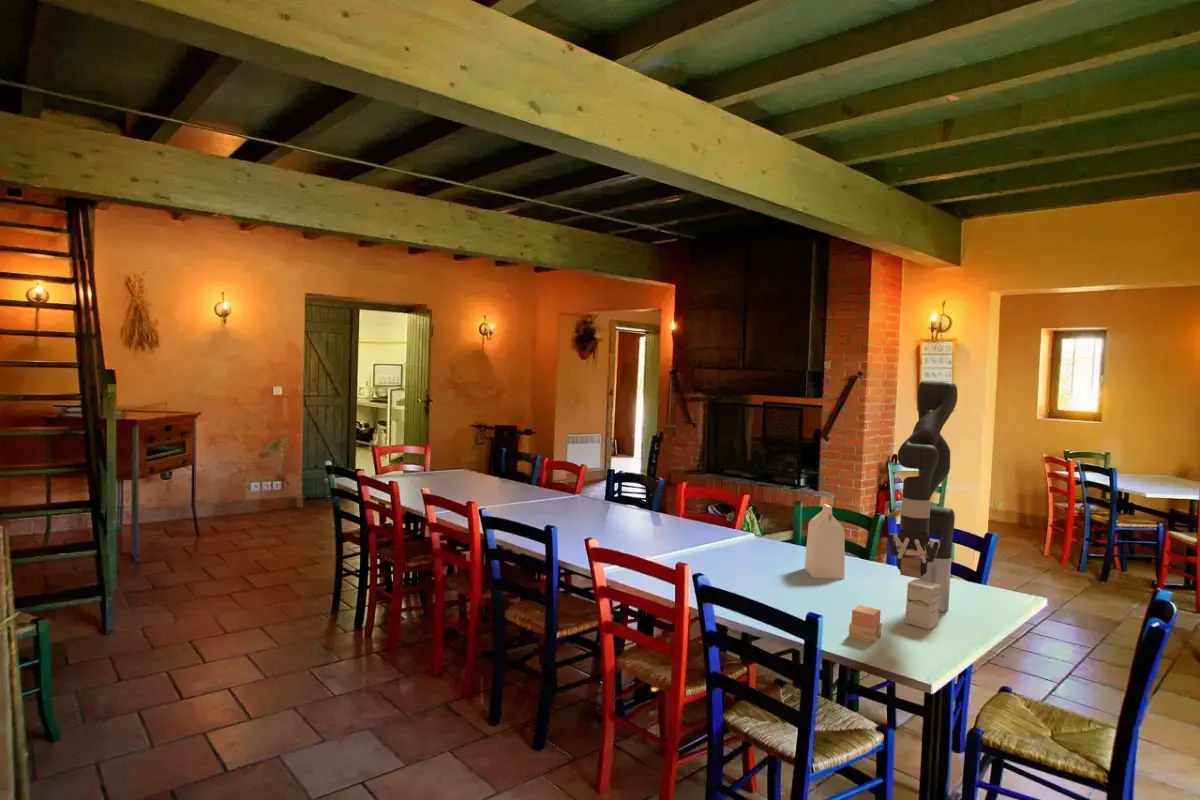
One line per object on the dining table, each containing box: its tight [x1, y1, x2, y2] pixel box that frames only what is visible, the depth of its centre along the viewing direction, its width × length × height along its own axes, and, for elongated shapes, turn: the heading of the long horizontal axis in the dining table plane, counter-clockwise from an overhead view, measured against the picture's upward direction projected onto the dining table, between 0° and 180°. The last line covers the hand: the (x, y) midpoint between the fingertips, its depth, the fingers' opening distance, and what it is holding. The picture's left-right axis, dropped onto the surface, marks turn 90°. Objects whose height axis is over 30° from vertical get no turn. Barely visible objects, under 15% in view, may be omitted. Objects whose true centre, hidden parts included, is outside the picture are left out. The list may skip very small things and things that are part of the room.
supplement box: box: [904, 578, 941, 630], centre depth 212 cm, size 7×7×13 cm
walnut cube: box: [899, 553, 922, 579], centre depth 198 cm, size 5×5×5 cm
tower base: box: [848, 621, 883, 644], centre depth 200 cm, size 7×7×4 cm
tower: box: [850, 604, 882, 629], centre depth 199 cm, size 6×6×4 cm
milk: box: [804, 503, 846, 580], centre depth 264 cm, size 12×12×26 cm
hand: (911, 572), depth 198 cm, fingers closed on walnut cube, 5 cm apart
